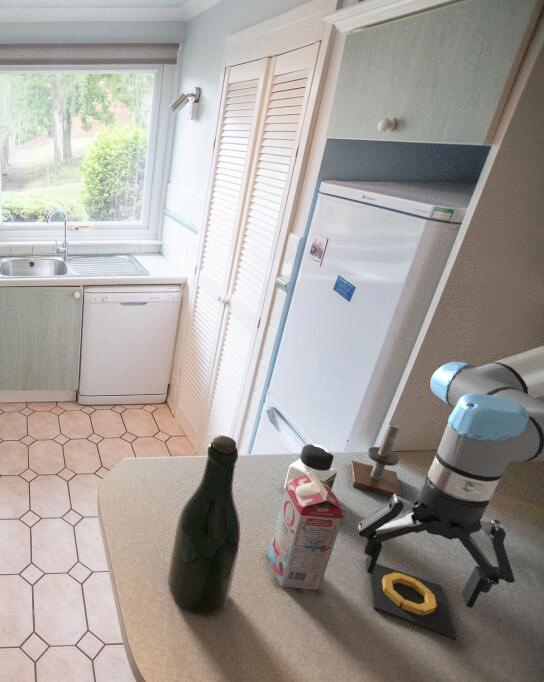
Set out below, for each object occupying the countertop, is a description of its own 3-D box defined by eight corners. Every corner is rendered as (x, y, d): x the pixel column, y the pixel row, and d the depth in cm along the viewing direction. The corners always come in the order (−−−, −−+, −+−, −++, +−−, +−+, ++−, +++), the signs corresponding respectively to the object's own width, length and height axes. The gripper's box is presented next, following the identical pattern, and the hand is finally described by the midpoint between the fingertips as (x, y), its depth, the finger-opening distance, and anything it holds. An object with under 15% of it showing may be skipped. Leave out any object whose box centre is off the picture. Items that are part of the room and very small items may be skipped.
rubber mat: (440, 587, 82) (441, 585, 82) (455, 640, 74) (456, 637, 73) (367, 562, 88) (368, 560, 87) (373, 609, 79) (374, 606, 79)
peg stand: (394, 476, 110) (415, 421, 104) (399, 499, 103) (422, 441, 97) (350, 465, 114) (367, 411, 108) (352, 486, 107) (371, 429, 101)
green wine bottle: (221, 571, 86) (252, 424, 73) (233, 623, 77) (271, 465, 64) (164, 563, 88) (185, 418, 75) (169, 613, 78) (194, 457, 66)
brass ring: (429, 588, 82) (431, 584, 81) (437, 622, 76) (439, 617, 75) (380, 571, 85) (382, 567, 84) (384, 602, 79) (386, 597, 79)
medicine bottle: (314, 507, 101) (327, 464, 96) (283, 489, 106) (294, 447, 102) (330, 495, 105) (343, 452, 100) (299, 478, 110) (310, 437, 105)
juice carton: (280, 585, 83) (307, 491, 75) (268, 556, 89) (291, 465, 81) (319, 590, 82) (350, 495, 74) (303, 559, 88) (331, 468, 80)
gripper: (363, 476, 74) (332, 570, 82) (582, 533, 62) (521, 636, 70) (359, 451, 80) (331, 541, 88) (559, 499, 68) (505, 597, 76)
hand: (415, 583), depth 79 cm, fingers open, 13 cm apart
